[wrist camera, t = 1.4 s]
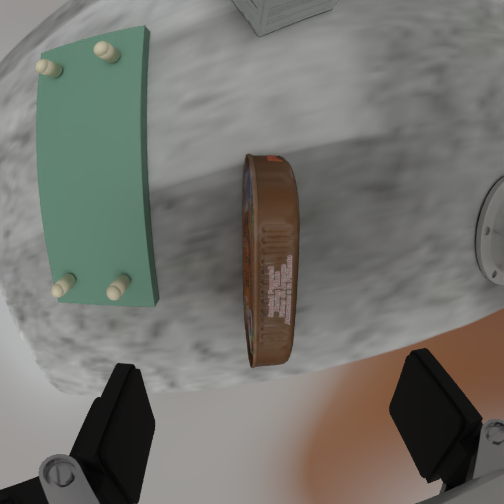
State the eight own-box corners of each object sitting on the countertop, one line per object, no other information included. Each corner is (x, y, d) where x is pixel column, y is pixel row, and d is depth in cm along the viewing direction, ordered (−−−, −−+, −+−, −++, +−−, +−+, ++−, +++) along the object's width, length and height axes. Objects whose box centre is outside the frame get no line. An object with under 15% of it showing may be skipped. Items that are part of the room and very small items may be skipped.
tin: (242, 153, 23) (241, 154, 15) (283, 154, 23) (304, 155, 15) (243, 328, 28) (244, 392, 19) (278, 327, 28) (290, 390, 20)
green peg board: (149, 31, 19) (131, 10, 15) (159, 298, 26) (144, 326, 22) (49, 56, 19) (21, 45, 14) (65, 295, 26) (41, 318, 22)
